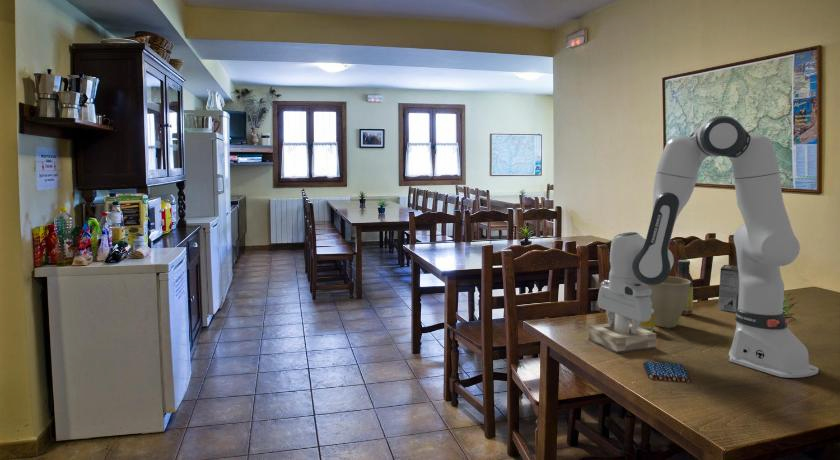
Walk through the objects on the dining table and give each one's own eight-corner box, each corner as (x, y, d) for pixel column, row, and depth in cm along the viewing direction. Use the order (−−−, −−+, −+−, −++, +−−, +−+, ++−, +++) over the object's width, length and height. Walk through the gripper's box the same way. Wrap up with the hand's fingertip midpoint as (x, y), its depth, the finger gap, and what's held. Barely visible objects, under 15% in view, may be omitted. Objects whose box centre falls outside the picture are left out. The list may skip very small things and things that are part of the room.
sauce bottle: (693, 312, 221) (696, 260, 218) (691, 316, 215) (693, 262, 213) (674, 310, 224) (677, 258, 222) (671, 314, 219) (674, 261, 217)
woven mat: (691, 384, 153) (692, 376, 152) (647, 380, 155) (648, 373, 155) (683, 370, 163) (683, 362, 162) (642, 367, 165) (642, 360, 165)
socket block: (655, 348, 179) (656, 333, 179) (616, 353, 175) (617, 338, 174) (625, 335, 193) (626, 321, 192) (588, 339, 188) (589, 325, 188)
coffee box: (721, 304, 232) (724, 264, 231) (740, 307, 229) (742, 266, 227) (717, 309, 225) (719, 267, 223) (736, 312, 221) (739, 269, 219)
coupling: (621, 346, 180) (622, 317, 179) (608, 342, 183) (609, 314, 182) (634, 341, 184) (635, 313, 183) (621, 338, 188) (622, 310, 187)
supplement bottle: (654, 332, 195) (655, 304, 194) (637, 331, 197) (638, 303, 195) (651, 328, 201) (652, 300, 200) (634, 327, 202) (636, 299, 201)
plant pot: (675, 333, 195) (678, 286, 193) (633, 324, 206) (635, 279, 204) (696, 325, 204) (698, 279, 202) (654, 316, 215) (656, 273, 213)
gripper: (593, 279, 190) (592, 321, 192) (639, 292, 171) (637, 339, 173) (609, 277, 192) (607, 319, 194) (656, 290, 173) (654, 336, 175)
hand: (622, 328), depth 183 cm, fingers open, 8 cm apart
